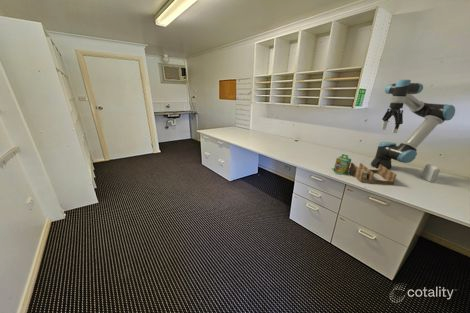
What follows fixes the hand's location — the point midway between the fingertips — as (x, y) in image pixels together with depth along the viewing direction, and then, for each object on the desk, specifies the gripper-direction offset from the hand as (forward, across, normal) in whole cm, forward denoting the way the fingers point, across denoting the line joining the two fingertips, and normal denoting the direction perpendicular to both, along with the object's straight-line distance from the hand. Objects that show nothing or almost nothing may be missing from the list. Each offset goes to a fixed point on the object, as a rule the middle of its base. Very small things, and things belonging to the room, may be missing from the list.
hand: (388, 131), depth 141 cm
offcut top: (+33, +10, -15) cm, 38 cm away
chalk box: (+36, 0, -27) cm, 45 cm away
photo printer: (+37, +3, +36) cm, 52 cm away
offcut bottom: (+37, +10, -15) cm, 41 cm away
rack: (+37, +7, -8) cm, 38 cm away
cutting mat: (+37, 0, -27) cm, 46 cm away
